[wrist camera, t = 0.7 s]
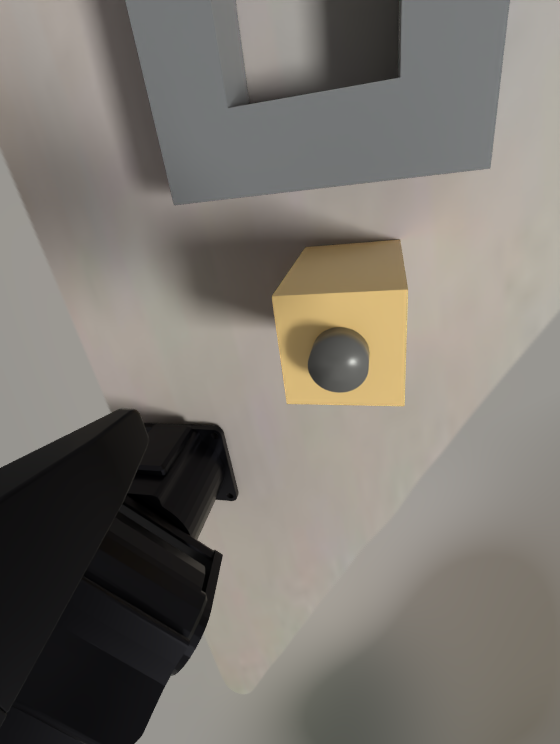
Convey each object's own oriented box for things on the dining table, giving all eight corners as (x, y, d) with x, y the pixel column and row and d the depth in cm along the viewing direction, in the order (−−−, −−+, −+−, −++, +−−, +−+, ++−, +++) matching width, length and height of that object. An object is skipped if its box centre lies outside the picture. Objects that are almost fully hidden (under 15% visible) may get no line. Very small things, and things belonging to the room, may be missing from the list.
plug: (398, 327, 20) (405, 423, 14) (313, 330, 22) (281, 419, 15) (400, 239, 18) (409, 300, 12) (305, 247, 19) (264, 307, 13)
